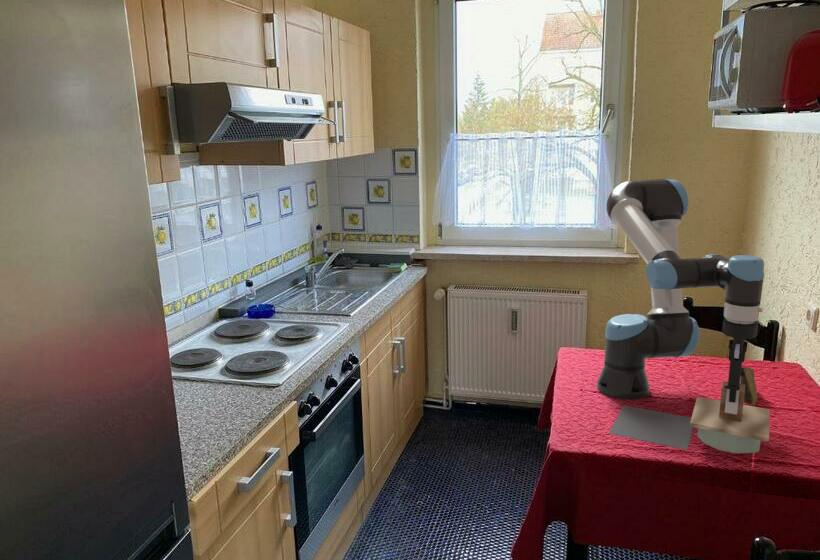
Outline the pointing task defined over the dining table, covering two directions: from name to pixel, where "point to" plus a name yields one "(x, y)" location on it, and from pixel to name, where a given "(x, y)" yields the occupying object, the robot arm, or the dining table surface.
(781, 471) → the dining table surface
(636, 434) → the mat
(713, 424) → the lid
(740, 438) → the bowl
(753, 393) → the rock
